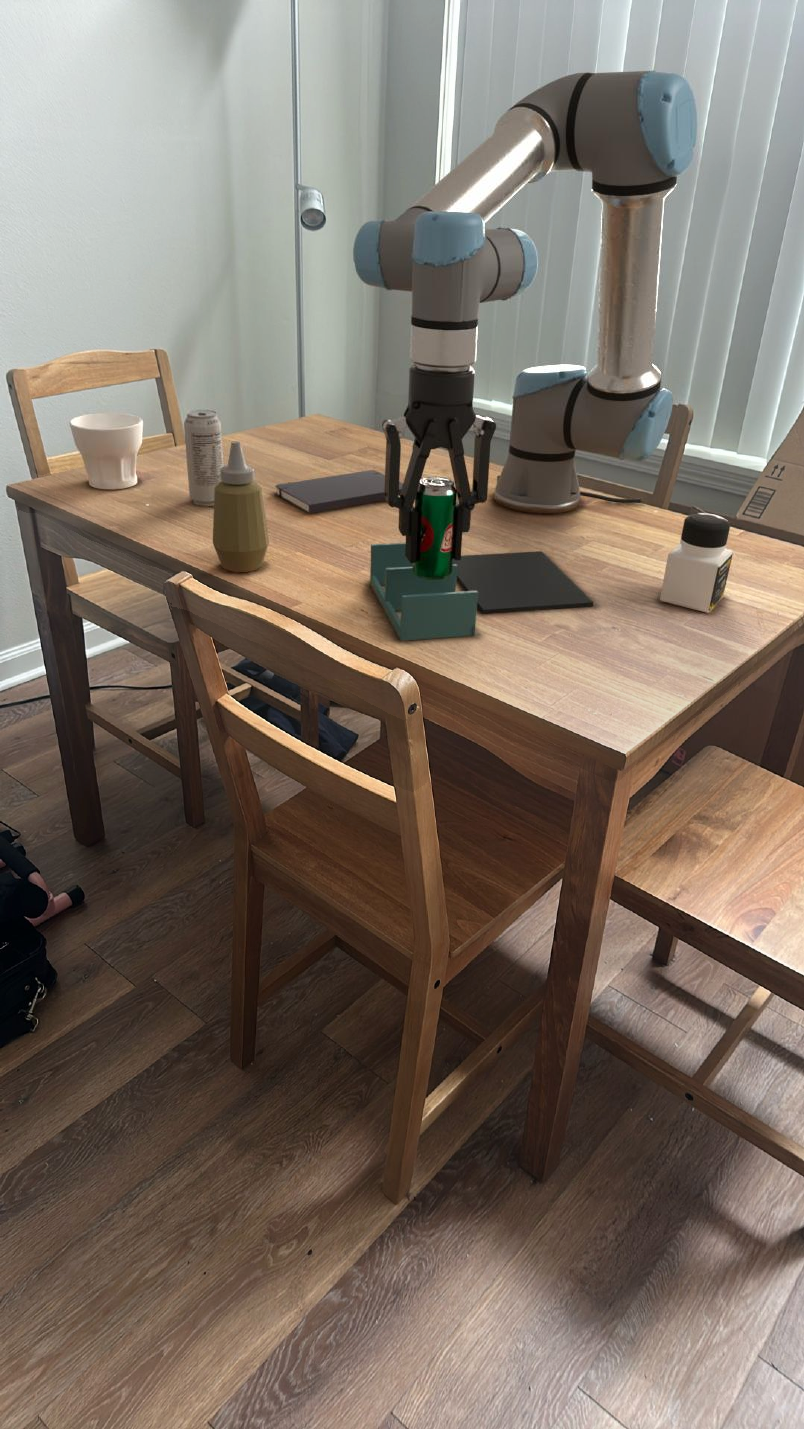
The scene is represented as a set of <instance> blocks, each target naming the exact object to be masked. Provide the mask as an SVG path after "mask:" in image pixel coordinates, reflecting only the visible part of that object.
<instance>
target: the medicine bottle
mask: <svg viewBox="0 0 804 1429" xmlns="http://www.w3.org/2000/svg"><path fill="white" fill-rule="evenodd" d="M730 530H731V524H730V521H728V520H727V519H726V518H724V517H722V516H720V515H717V514H713V513H707V512H698V513H692V514H690V515H688V516H686V517H685V518H684V520H683V525H682V531H681V536H680V541H679V544H678V545H677V546H676V547H675V548H673V549H672V550H671V551H670V552H669V553H668V555H667V559H666V565H665V570H664V575H663V579H662V586H661V592H660V596H659V601H660V602H663V603H667V604H670V605H674V606H678V607H682V608H687V609H691V610H693V611H694V610H695V611H699V612H703V613H707V614H708V613H710V612H711V611H712V610H713V609H714V608H715V607H716V606H717V605H718V603H719V602H720V601H721V600H722V599H723V597H724V594H725V591H726V585H727V581H728V578H729V573H730V568H731V564H732V560H733V555H734V551H733V550H732V549H728V548H726V547H727V543H728V539H729V534H730Z"/></svg>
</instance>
